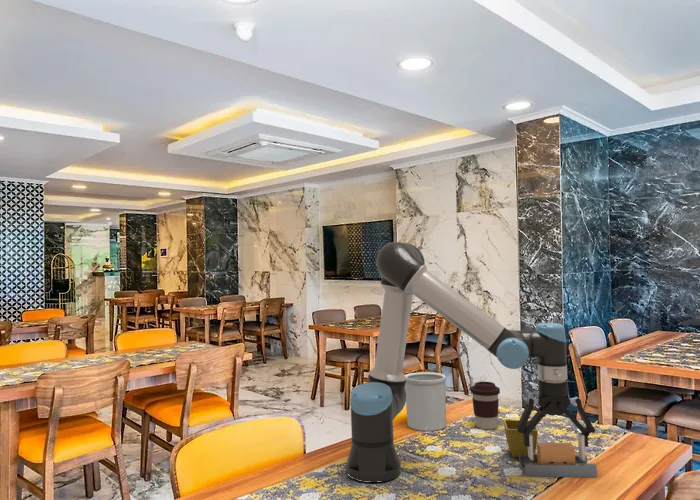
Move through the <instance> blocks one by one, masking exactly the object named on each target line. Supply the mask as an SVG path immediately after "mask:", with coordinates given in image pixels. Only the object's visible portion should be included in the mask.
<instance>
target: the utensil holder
mask: <svg viewBox="0 0 700 500" xmlns="http://www.w3.org/2000/svg"><path fill="white" fill-rule="evenodd" d="M404 375H405V376H406V385H405V389H406V403H405V408H406V410H405V411H406V420H407V426H408V427H409V428H410V429H413V430H416V431H421V432H432V431H440V430H443V429H444V428H446V426H447V403H446V400H447V399H446V398H447V397H446V395H447V394H446V380H447V376H446V375H445V374H443V373H439V372H432V371H430V372H429V371H422V372H412V373H411V372H410V373H407V374H404Z"/></svg>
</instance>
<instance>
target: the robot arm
mask: <svg viewBox="0 0 700 500" xmlns="http://www.w3.org/2000/svg"><path fill="white" fill-rule="evenodd" d="M425 262H426V261H425V257H424V254H423V253H422V251H421V250H420V249H419V247H417V246H416V245H413V244H412V243H408V242H402V241H393V242H389V243H387V244H385V245H384V246H382V248H380V250H379V252H378V253H377V257H376V262H375V264H376V269H377V271H378V273H379V274H380V276H381V281H380V286H382V287H381V288H382V289H384V295H383V302H382V308H381V309H382V310H381V316H380V323H379V324H380V325H379V332H378V338H377V345H376V346H377V347H376V355H375V361H374V367H372V369H370V370H369V371H368V376H367V382H364V383H363V384H361V383H360V384H358V385H356V386H355V387H353V389H352V390H351V391H350V399H349V404H350V424H351V425H350V426H351V447H350V449H349V453H348V457H347V460H346V465H345V467H346V471H347V472H346V474H347V473H348V474H349V475H350V476H351V477H353V478H355V479H358V480H362V481H371V482H377V481H387V480H390V481H392V480H391V479H393V478H395V479H397V478H398V477H399V476H400V475H401V472H402V470H401V469H402V466H401V461H400V458H399V455H398V453H397V450H396V446H395V444H394V442H395V441H394V420H395V418H396V417H397V416H398V415H399V414H400V413H401V411H402V410H403V409H404V407H405V406H406V389H405V385H406V376H405V375H406V374H405V373H404V372H403V369H404V361H405V355H406V347H407V341H408V340H407V339H408V334H409V333H408V331H409V325H410V317H411V312H412V311H411V309H412V304H413V303H412V302H413V295H414V296H415V297H416V298H418V300H420V301H421V302H423V303H424V304H426V306H428V307H429V308H431V309H432V310H433V311H434V312H436V313H437V314H439V315H440V316H441V317H443V318H444V319H445V320H447V321H448V322H450V323H451V324H452V325H454V326H455V327H456V328H457V329H459V330H460V331H461V332H463V333H464V334H466V335H467V336H468V337H470V338H471V340H474V341H475V342H476V343H477V344H479V345H480V346H481V347H483V348H484V349H486V350H487V351H488V352H489V353H490V354H491V355H493V356H494V357H496V358H497V360H498V361H499V363H500V364H501V365H502V366H503V367H505V368H506V369H510V370H516V369H520V368H522V367H524V365H526V364H527V362H528V359H530V358H531V359H534V358H535V359H537V378H538V397H537V398H535V397H531V396H527V397H526V405H525V407H524V409H523V412H521V413H522V414H521V416H520V418H519V419H518V420H519V422H518V424H517V426H516V429H517V430H518V432H519V433H523V438H524V445H525V446H526V447H528V457H529V458H530V460H533V438H532V435H531V432H532V430H533V429H534V428H535V427H537V425H538V424H539V423H540V422H541V421H542V419H543V418H544V417H546V416H547V415H549V416H555V415H556V416H562V415H563V414H564V415H565V416H566V417H567V418H568V419H569V420H570V421H571V422H572V423H573V425H574V426H575V427H576V428H577V429H578V430H579V431H580V432H577V445H578V446H577V447H578V454H579V457H580V458H581V459H582V460H585V455H586V448H588V447H589V436H590V434H594V433H596V429H595V427H594V425H593V424H592V422H591V420H590V418H589V416H588V415H587V413H586V411H585V409H584V408H583V404H582V399H580V398H579V397H578V396H576V395H575V396H573V397H571V398H570V397H569V383H568V381H567V380H568V362H567V361H568V359H567V358H568V357H567V355H568V354H567V337H566V328H565V326H564V325H563V324H561V323H559V322H539V323H537V324H536V326H535V330H511V329H510V330H509V329H507V328H506V327H505V326H504V325H502V324H501V323H499V322H498V321H497V320H495V319H494V318H493V317H491V316H490V315H488V314H487V313H486V312H484V311H483V310H481V308H479V307H477V305H475V304H474V303H472V302H471V301H469V300H468V299H466V298H465V297H464V296H463V295H461V294H460V293H459V292H457V291H456V290H454V289H453V288H451V287H450V286H449V285H447V284H446V283H445V282H443V281H442V279H439V278H438V277H437V276H436V275H434V274H433V273H431V272H430V271H428V268H427V265H426V264H425ZM537 404H538V405H539V406H540V407H539V408H537V410H536V413H534V415H533V417H531V414H532V412H533V410H534V407H536V405H537ZM570 404H571V405H572V406H573V407H575V409H576V411H577V413H578V414H579V416H580V418H581V420H582V422H583V423H584V426H583V425H582V423H580V421H578V419H577V418H576V417H575V416H574V415H573V414H572V413H571V411H570V410H569V409H568V407H570ZM530 417H531V419H530ZM529 419H530V420H529ZM528 420H529V422H528V424H527V425H526V423H527V421H528ZM525 425H526V426H525ZM397 476H398V477H397ZM396 477H397V478H396ZM393 480H394V479H393ZM387 482H388V481H387Z"/></svg>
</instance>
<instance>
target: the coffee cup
mask: <svg viewBox="0 0 700 500" xmlns="http://www.w3.org/2000/svg"><path fill="white" fill-rule="evenodd" d="M500 393H501V392H500V387H498V386H496V384H495V383H494V382H492V381H491V382H490V381H477V382H475V383H474V384H473V385H472V386H471V387H470V394H472V408H473V414H474V422H475V426H476V427H477V428H479V429H480V430H481V429H482V430H495V429H497V427H498V416H499V403H500V402H499V394H500Z"/></svg>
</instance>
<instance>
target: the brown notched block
mask: <svg viewBox="0 0 700 500" xmlns="http://www.w3.org/2000/svg"><path fill="white" fill-rule="evenodd" d="M536 452H537V453H536V454H537V456H538V463H549V462H563V463H575V454H576V447H575V446H574V445H573V443H572V442H537V446H536Z"/></svg>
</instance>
